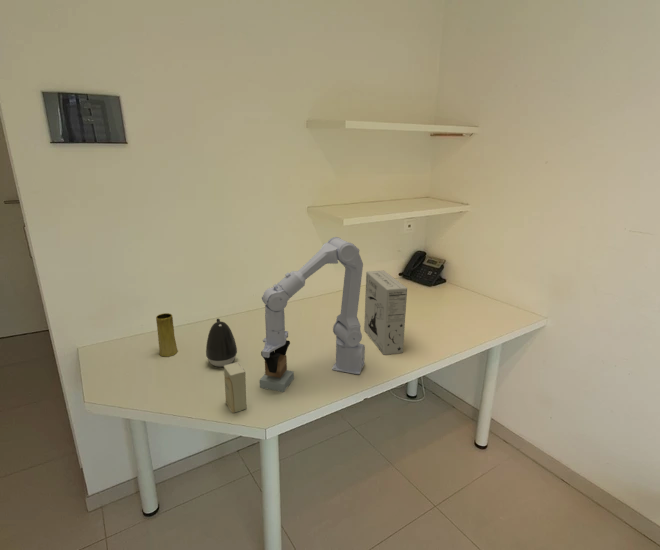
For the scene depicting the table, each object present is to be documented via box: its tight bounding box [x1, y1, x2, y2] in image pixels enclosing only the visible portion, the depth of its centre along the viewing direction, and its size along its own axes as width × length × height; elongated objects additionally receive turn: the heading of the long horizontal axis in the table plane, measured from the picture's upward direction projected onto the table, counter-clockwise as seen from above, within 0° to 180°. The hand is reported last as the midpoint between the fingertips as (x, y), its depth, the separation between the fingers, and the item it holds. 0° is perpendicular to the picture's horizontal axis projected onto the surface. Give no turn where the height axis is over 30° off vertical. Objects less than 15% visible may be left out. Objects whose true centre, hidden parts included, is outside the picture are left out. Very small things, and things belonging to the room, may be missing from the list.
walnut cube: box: [264, 355, 288, 378], centre depth 126 cm, size 5×5×5 cm
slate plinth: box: [259, 369, 295, 393], centre depth 127 cm, size 8×8×3 cm
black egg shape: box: [205, 318, 238, 368], centre depth 137 cm, size 10×10×15 cm
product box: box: [363, 270, 408, 356], centre depth 153 cm, size 22×8×25 cm, turn 14°
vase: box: [155, 312, 179, 357], centre depth 144 cm, size 6×6×14 cm
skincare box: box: [223, 361, 247, 414], centre depth 114 cm, size 6×4×12 cm
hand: (276, 367), depth 126 cm, fingers closed on walnut cube, 5 cm apart
